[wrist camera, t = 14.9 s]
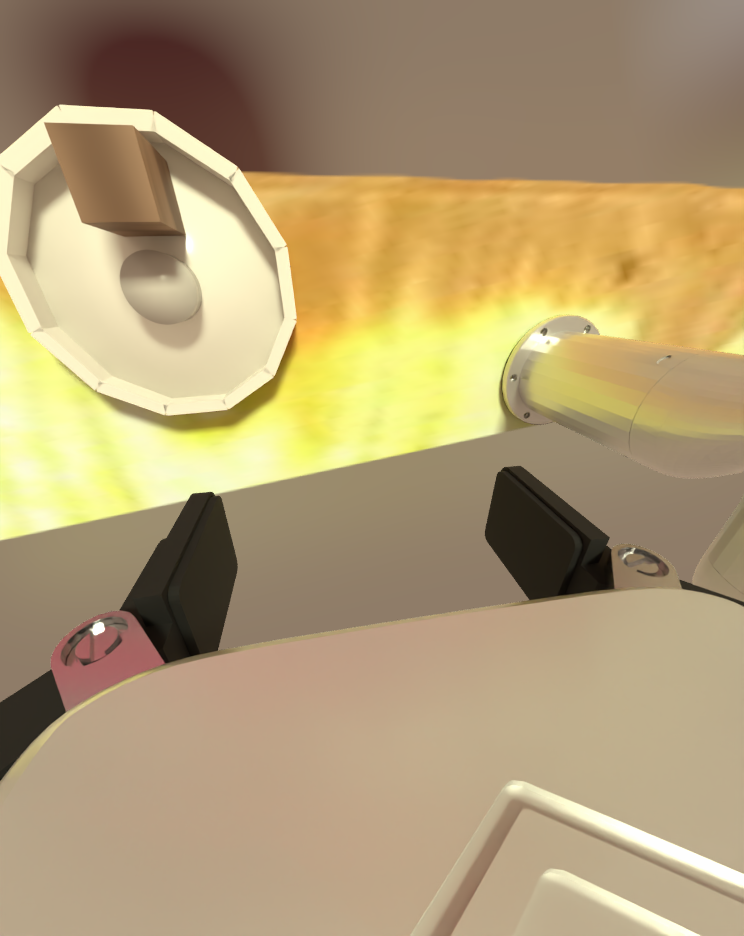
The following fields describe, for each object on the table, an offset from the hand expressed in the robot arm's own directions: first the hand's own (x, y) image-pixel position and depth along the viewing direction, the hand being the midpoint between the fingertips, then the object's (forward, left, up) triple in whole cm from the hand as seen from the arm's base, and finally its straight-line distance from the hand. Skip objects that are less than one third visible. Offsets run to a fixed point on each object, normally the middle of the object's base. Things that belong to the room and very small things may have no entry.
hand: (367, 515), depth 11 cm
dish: (+11, -7, -26) cm, 29 cm away
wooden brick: (+11, -13, -25) cm, 30 cm away
